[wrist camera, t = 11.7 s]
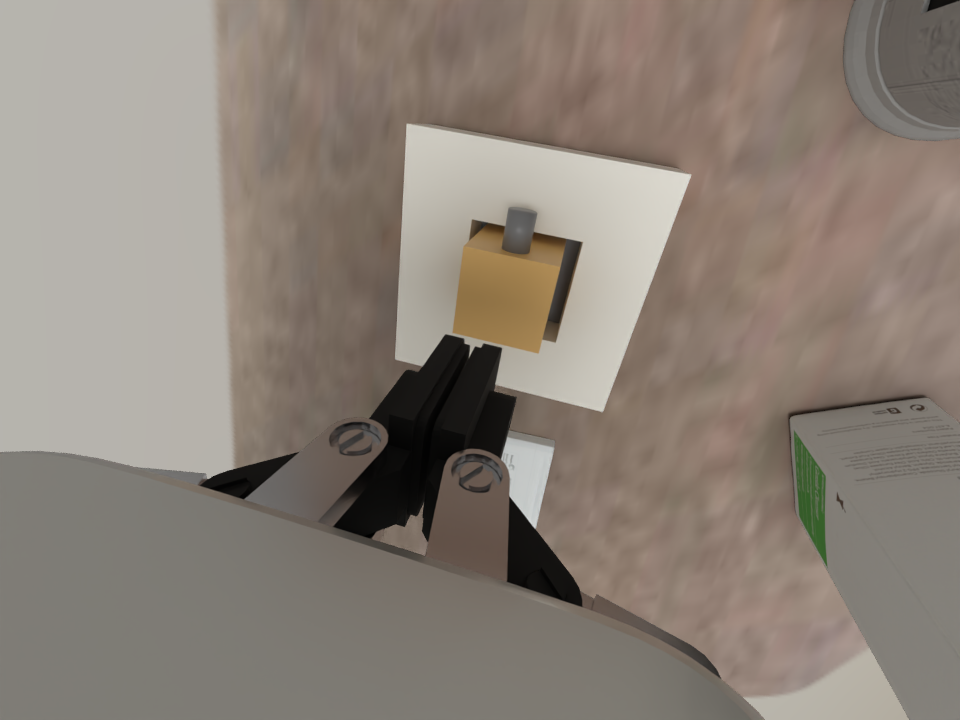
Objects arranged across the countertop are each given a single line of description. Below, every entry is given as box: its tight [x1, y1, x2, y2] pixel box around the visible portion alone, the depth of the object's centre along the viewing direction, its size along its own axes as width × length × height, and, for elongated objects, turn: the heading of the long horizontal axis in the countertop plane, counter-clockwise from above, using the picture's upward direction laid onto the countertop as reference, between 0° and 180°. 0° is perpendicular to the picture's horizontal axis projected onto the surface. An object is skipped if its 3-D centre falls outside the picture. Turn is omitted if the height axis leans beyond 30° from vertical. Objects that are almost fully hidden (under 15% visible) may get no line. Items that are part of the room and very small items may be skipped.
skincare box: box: [790, 398, 960, 720], centre depth 17 cm, size 8×7×16 cm
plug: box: [452, 207, 567, 354], centre depth 20 cm, size 6×4×6 cm
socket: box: [395, 124, 691, 412], centre depth 22 cm, size 12×12×3 cm
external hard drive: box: [501, 430, 555, 529], centre depth 31 cm, size 2×8×12 cm
